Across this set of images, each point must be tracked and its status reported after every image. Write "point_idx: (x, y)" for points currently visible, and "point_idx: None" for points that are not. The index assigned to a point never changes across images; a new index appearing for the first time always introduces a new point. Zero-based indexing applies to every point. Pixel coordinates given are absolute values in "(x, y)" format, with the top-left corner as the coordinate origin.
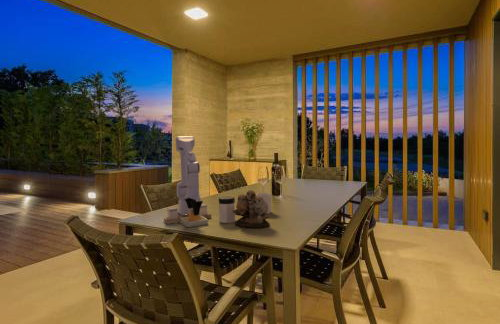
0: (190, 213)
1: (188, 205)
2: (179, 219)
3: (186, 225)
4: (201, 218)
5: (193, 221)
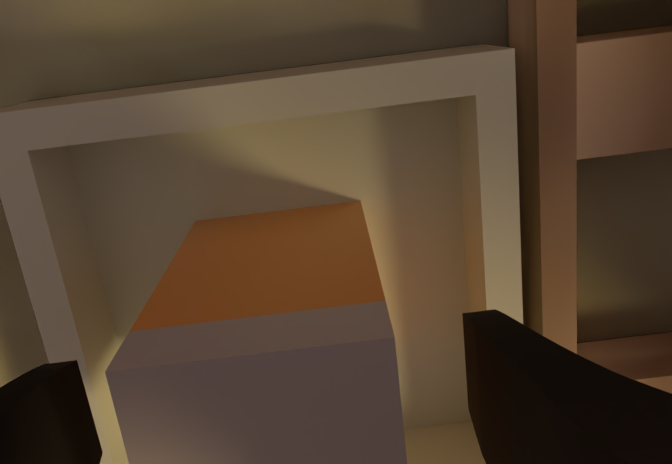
0: (188, 304)
1: (543, 412)
2: (529, 28)
3: (56, 100)
4: None
5: (23, 266)
